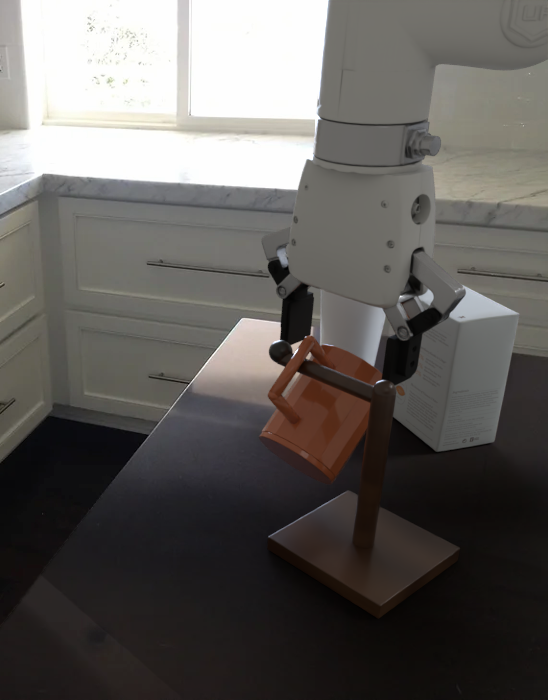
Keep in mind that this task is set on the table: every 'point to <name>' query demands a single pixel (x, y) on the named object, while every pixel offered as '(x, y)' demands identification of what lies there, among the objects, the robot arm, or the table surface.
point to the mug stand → (361, 517)
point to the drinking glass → (351, 325)
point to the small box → (459, 375)
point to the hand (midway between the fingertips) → (343, 360)
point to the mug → (318, 413)
